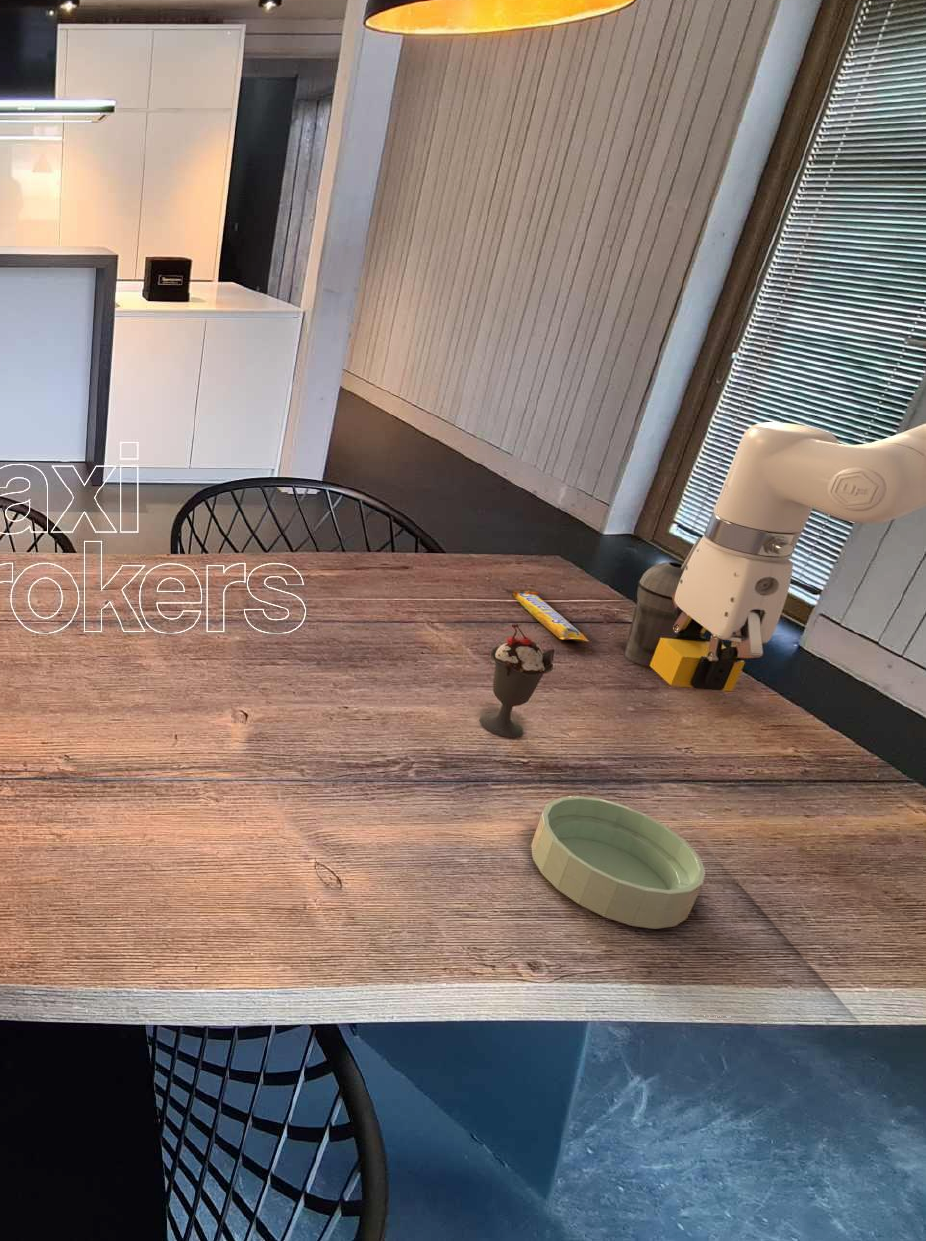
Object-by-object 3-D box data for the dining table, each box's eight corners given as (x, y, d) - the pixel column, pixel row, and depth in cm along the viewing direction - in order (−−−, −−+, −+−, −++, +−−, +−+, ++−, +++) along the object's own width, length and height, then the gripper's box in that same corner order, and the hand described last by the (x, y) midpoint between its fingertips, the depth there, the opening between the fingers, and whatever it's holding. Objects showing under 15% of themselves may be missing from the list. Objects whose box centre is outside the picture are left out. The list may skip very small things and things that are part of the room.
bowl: (640, 841, 87) (655, 804, 85) (719, 942, 75) (738, 902, 73) (508, 825, 89) (520, 789, 87) (565, 922, 77) (581, 882, 75)
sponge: (708, 671, 99) (720, 642, 97) (732, 691, 95) (745, 662, 93) (649, 665, 100) (660, 637, 98) (670, 685, 96) (682, 656, 94)
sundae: (460, 719, 107) (488, 619, 101) (492, 706, 110) (521, 608, 104) (509, 747, 102) (542, 643, 96) (541, 733, 105) (575, 631, 99)
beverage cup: (621, 641, 126) (664, 522, 119) (679, 660, 121) (728, 537, 113) (607, 657, 122) (650, 534, 114) (666, 677, 117) (716, 550, 109)
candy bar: (508, 597, 140) (511, 587, 139) (534, 598, 140) (537, 589, 139) (561, 647, 125) (564, 636, 124) (590, 649, 124) (593, 638, 123)
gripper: (849, 571, 82) (777, 721, 89) (737, 510, 97) (683, 643, 104) (765, 565, 83) (701, 714, 90) (667, 506, 98) (619, 637, 105)
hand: (692, 674), depth 97 cm, fingers closed on sponge, 4 cm apart
